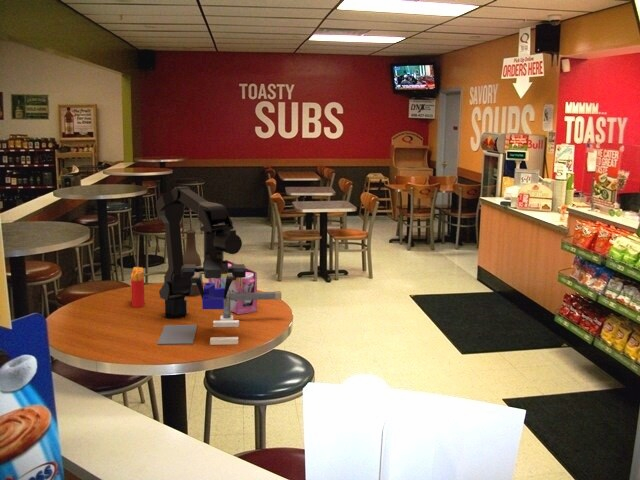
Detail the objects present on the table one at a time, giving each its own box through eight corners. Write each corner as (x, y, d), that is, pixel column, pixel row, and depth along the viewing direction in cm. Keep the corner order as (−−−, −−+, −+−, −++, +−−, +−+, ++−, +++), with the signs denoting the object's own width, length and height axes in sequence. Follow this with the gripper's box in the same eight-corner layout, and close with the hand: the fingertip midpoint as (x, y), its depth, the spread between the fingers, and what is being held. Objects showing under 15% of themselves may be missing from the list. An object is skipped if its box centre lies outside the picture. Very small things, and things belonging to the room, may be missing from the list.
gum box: (260, 312, 206) (260, 273, 203) (239, 316, 201) (239, 276, 198) (227, 295, 225) (227, 259, 222) (207, 298, 220) (207, 262, 217)
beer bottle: (177, 295, 222) (176, 231, 217) (185, 290, 229) (184, 227, 225) (197, 297, 221) (196, 232, 216) (205, 291, 228) (204, 228, 224)
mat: (157, 345, 174) (157, 343, 174) (164, 326, 189) (164, 325, 189) (192, 344, 175) (192, 343, 175) (197, 325, 191) (197, 324, 190)
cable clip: (205, 283, 186) (224, 282, 187) (205, 297, 187) (224, 296, 188) (202, 294, 175) (223, 294, 175) (202, 309, 176) (223, 309, 176)
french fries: (131, 301, 214) (130, 265, 211) (144, 300, 215) (142, 264, 213) (132, 309, 205) (131, 271, 203) (145, 308, 207) (144, 271, 204)
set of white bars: (210, 344, 175) (210, 339, 175) (214, 318, 198) (214, 314, 198) (238, 344, 176) (238, 339, 176) (239, 318, 199) (239, 313, 199)
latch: (281, 316, 198) (281, 290, 196) (223, 318, 195) (222, 292, 193) (280, 314, 200) (280, 288, 199) (223, 315, 197) (222, 289, 196)
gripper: (178, 253, 169) (179, 307, 172) (246, 254, 172) (245, 306, 175) (182, 245, 180) (183, 295, 183) (245, 245, 183) (245, 295, 186)
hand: (213, 298), depth 181 cm, fingers closed on cable clip, 6 cm apart
